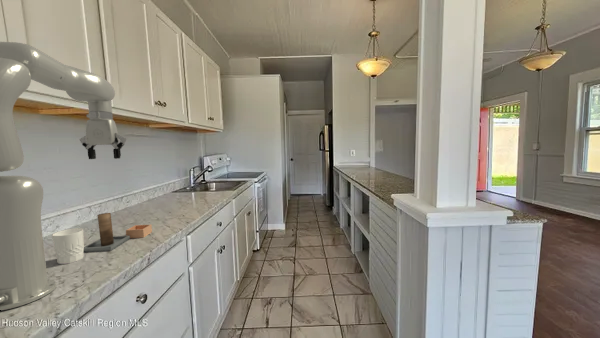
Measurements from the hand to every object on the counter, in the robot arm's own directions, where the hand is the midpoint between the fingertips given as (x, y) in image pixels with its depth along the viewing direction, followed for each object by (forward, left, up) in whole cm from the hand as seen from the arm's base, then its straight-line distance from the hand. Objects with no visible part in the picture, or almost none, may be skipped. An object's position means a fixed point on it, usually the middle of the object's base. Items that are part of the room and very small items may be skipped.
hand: (104, 158), depth 103 cm
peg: (-9, -4, -33) cm, 35 cm away
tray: (-9, -4, -34) cm, 36 cm away
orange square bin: (+1, -11, -34) cm, 36 cm away
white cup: (-20, +1, -35) cm, 40 cm away
